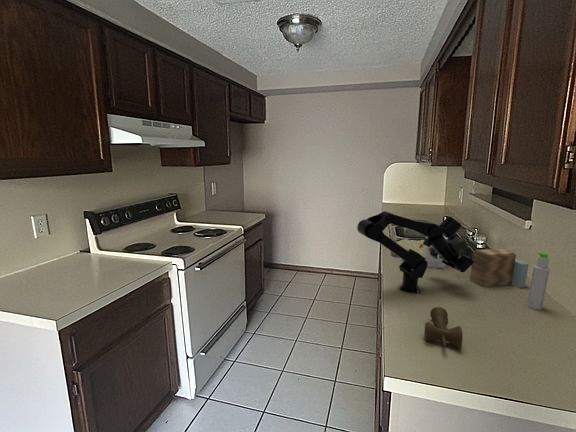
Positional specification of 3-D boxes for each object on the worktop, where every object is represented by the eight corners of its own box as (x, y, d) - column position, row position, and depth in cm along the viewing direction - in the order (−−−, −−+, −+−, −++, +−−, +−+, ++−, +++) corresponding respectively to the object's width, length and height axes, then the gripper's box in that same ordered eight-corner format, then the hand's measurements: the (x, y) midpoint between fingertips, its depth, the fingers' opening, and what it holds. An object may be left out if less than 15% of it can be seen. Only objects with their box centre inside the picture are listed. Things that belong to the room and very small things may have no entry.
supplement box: (424, 266, 152) (427, 236, 149) (422, 260, 160) (425, 231, 157) (445, 269, 149) (449, 238, 146) (442, 262, 158) (445, 233, 155)
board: (518, 287, 130) (522, 264, 128) (490, 274, 143) (493, 253, 141) (524, 287, 130) (528, 264, 128) (496, 274, 144) (499, 253, 142)
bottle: (526, 302, 117) (536, 250, 113) (541, 306, 114) (551, 253, 110) (526, 307, 113) (536, 253, 109) (542, 311, 111) (553, 256, 107)
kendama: (454, 324, 102) (464, 360, 84) (422, 319, 106) (424, 352, 87) (456, 307, 101) (466, 339, 83) (423, 302, 105) (426, 332, 86)
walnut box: (482, 286, 130) (487, 255, 127) (469, 280, 137) (473, 249, 134) (511, 284, 133) (516, 253, 130) (497, 278, 140) (501, 248, 137)
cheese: (435, 261, 165) (419, 238, 174) (439, 255, 159) (422, 231, 168) (408, 271, 164) (393, 247, 172) (411, 265, 158) (395, 240, 166)
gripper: (473, 237, 117) (493, 264, 122) (439, 225, 135) (458, 250, 140) (451, 258, 117) (473, 285, 122) (421, 244, 135) (440, 267, 140)
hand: (461, 270), depth 131 cm, fingers closed
